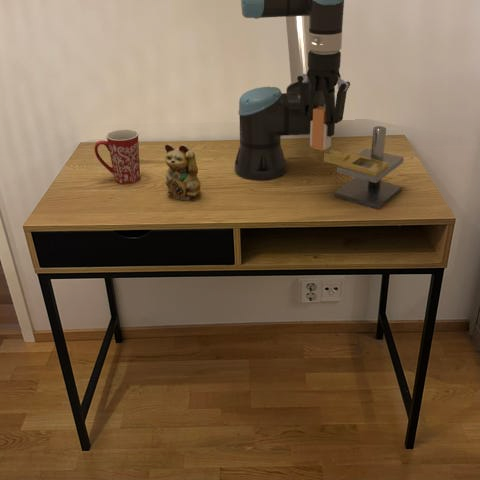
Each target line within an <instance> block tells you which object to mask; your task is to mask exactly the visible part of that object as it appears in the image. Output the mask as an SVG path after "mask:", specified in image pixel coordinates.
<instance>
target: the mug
mask: <svg viewBox="0 0 480 480" xmlns="http://www.w3.org/2000/svg"><path fill="white" fill-rule="evenodd" d="M139 135H140V134H139V132H138V131H137V130H135V129H132V128H130V129H128V128H122V129H116V130H115V129H114V130H112V131H109V132H108V133H106V135H105V138H106V139H107V140H98V141H96V142H95V145H94V153H95V156H96V158H97V160H98V161H99V162H100V163H101V165H102V166H103V167H104V168H105V169H106V170H107V171H109V172H110V173H111V174H112V175H113V178H114V181H115V182H116V183H118V184H125V185H126V184H127V185H128V184H134V183H136V182H138V181H140V179H141V167H140V163H141V162H140V148H139V147H140V145H139ZM100 145H104V146H105V147H106V149H107V151H108V152H109V155H110V161H111V166H110V165H109V164H107V162H105V160H103V158H102V157H101V156H100V153H99V151H98V149H99V146H100Z"/></svg>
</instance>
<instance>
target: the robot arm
mask: <svg viewBox="0 0 480 480" xmlns="http://www.w3.org/2000/svg"><path fill="white" fill-rule="evenodd" d="M240 5H241V6H240V7H241V15H242V16H243V17H244V18H246V19H256V20H257V19H260V18H262V19H264V18H266V19H267V18H282V17H283V18H285V20H286V22H285V23H286V32H287V46H288V49H287V50H288V58H289V59H288V61H289V70H290V71H289V73H290V84H289V85H287V86H286V88H285V89H286V93H285V92H283V93H282V90H281V89H280V88H279V87H276V86H261V87H256V88H253V89H249V90H247V91H246V92H243V94H242V95H241V96H240V97H239V101H238V111H237V112H238V115H239V148H238V150H237V151H238V152H237V154H236V156H235V160H234V172H235V174H236V175H237V176H239V177H241V178H244V179H247V180H254V181H265V180H266V181H267V180H272V179H277V178H279V177H282V176H283V175H285V173H286V171H287V160H286V158H285V155H284V151H283V147H282V145H281V142H282V141H281V140H282V139H281V137H282V136H307V135H309V146H310V147H312V127H313V109H315V108H317V107H319V106H322V107H325V109H326V121H327V122H326V123H325V124H324V128H323V149H324V151H325V150H327V149H330V147H331V146H332V145H331V144H332V137H333V136H334V135H335V126H336V124H338V123H339V122H342V121H343V119H344V114H345V113H344V111H345V104H346V98H347V92H348V90H349V88H350V86H351V83H350V81H345V80H344V79H342V78H341V73H340V68H341V61H342V60H341V59H342V57H341V56H342V53H341V51H340V50H342V44H343V43H342V41H343V40H342V39H343V21H344V11H345V10H344V9H345V0H240ZM336 86H337V88H335V87H336ZM335 89H337V92H336V90H335ZM335 93H336V95H335Z"/></svg>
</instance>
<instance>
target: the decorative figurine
mask: <svg viewBox="0 0 480 480" xmlns="http://www.w3.org/2000/svg"><path fill="white" fill-rule="evenodd" d="M164 149H165V151H166V155H165V164H166V165H167V167H168V169H167V170H166V173H165V185H166V187H167V189H166V190H167V191H166V192H167V194H170V195H172V198H173V199H176V200H181V201H182V200H183V201H190V200H191V199H192V198H194V197H196V196H198V194H199V193H200V192H201V181H200V180H199V178H198V174H199V169H198V165H197V161H196V160H197V159H196V154H195V152H194V151H193V150H190V149H189V146H188V145H186V144H181V145H180V146H179V147H178V148H177V147H175V146H174V145H172V144H170V143H167V144H165V145H164Z"/></svg>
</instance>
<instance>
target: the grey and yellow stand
mask: <svg viewBox="0 0 480 480" xmlns="http://www.w3.org/2000/svg"><path fill="white" fill-rule="evenodd" d="M386 134H387V127H385V126H381V125H379V126H376V125H375V126H373V130H372V138H371V140H372V141H371V148H365V149H363V150H361V151H360V152H359V153H357V154H355V153H353V154H352V155H351V154H349V153H347V152H346V153H345V152H340V151H339V150H338V151H336V150H333V149H329V150H327V151H325V152H324V154H323V155H324V156H323V162H325V163H329V164H333V165H336V166H337V167H336V168H337V170H336V173H337V174H341V175H345V176H348V177H352V178H353V179H351V180H350V181H348V182H347V183H346V184H344V185H343V186H342V187H340V188H339V189H337V190H335V191H334V192H333V196H334V197H335V198H339V199H342V200H345V201H348V202H351V203H355V204H359V205H362V206H367V207H369V208H373V209H375V210H380V209H382V207H384V206H385V205H386V204H387V203H388V202H390V201H392V199H394V198H395V197H396V196H397V195H399V194H400V193H401V192H402V186H399V185H395V184H392V183H387V182H384V181H383V182H382V179H383V178H385V177H386V176H387V175H389V174H390V173H391V172H393V171H395V170H396V169H397V168H398V167H399V166H401V165H402V164H403V163H404V161H405V159H404V156H399V155H396V154H391V153H387V152H384V151H385V144H386V143H385V142H386Z"/></svg>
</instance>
